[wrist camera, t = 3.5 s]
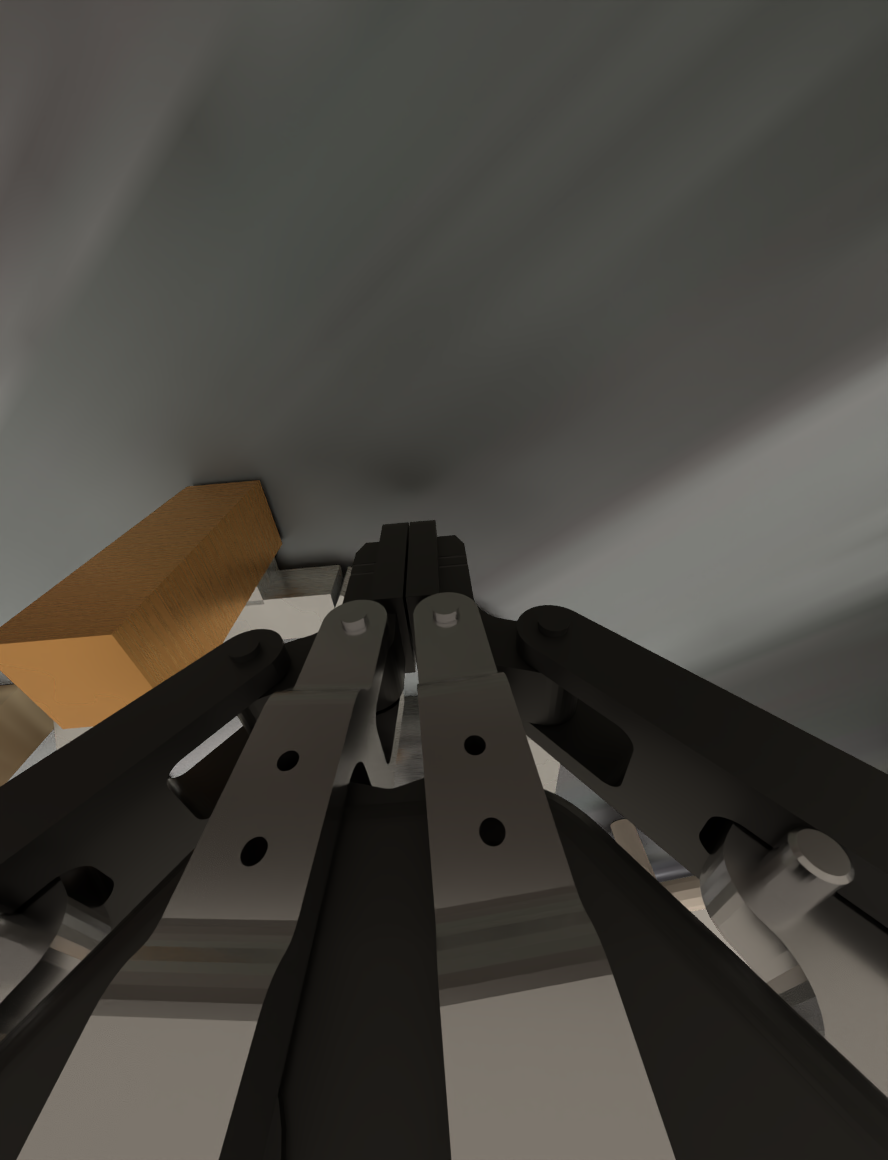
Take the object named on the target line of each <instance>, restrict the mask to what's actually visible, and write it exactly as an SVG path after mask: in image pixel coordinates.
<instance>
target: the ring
mask: <svg viewBox="0 0 888 1160" xmlns="http://www.w3.org/2000/svg"><path fill="white" fill-rule="evenodd" d="M281 545H282V541H281V539H280V536H279V533H278V530H277V528H276V525H275V522H274V519H273V516H272V514H271V511H270V508H269V505H268V503H267V500H266V497H265V494H264V491H263V489H262V486H261V483H260V480H255V481H244V482H233V483H222V484H211V485H199V486H188V487H186V488H184V489H183V490H182V491H180V492H179V493H178V494H176V495H175V496H174V497H172V498H171V499H170V500H168V501H167V502H166V503H165V504H163V505H162V506H161V507H159V508H158V509H157V510H155V511H154V512H153V513H151V514H150V515H149V516H147V517H146V518H145V519H143V520H142V521H141V522H139V523H138V524H137V525H135V526H134V527H133V528H131V529H130V530H129V531H127V532H126V533H125V534H123V535H122V536H121V537H119V538H118V539H117V540H115V541H114V542H113V543H111V544H110V545H109V546H107V547H106V548H105V549H103V550H102V551H101V552H99V553H98V554H97V555H95V556H94V557H93V558H91V559H90V560H89V561H87V562H86V563H85V564H84V565H82V566H81V567H80V568H78V569H77V570H76V571H74V572H73V573H72V574H70V575H69V576H68V577H66V578H65V579H64V580H62V581H61V582H60V583H58V584H57V585H56V586H54V587H53V588H52V589H50V590H49V591H48V592H46V593H45V594H44V595H42V596H41V597H40V598H38V599H37V600H36V601H34V602H33V603H32V604H30V605H29V606H28V607H26V608H25V609H24V610H22V611H21V612H20V613H18V614H17V615H16V616H14V617H13V618H12V619H10V620H9V621H8V622H7V623H5V624H4V625H3V626H1V627H0V671H1V672H2V673H3V674H5V675H6V676H7V677H8V678H9V679H10V680H11V681H12V682H13V683H14V684H15V685H16V686H17V687H18V688H19V689H21V690H22V691H23V692H24V693H25V694H26V695H27V696H28V697H29V698H30V699H31V700H32V701H33V702H34V703H35V704H37V705H38V706H39V707H40V708H41V709H42V710H43V711H44V712H45V713H46V714H47V715H48V716H49V717H50V718H51V719H52V720H53V723H54V731H55V740H56V748H57V750H58V749H59V748H61V747H63V746H64V745H66V744H67V743H69V742H70V741H72V740H73V739H75V738H77V737H78V736H80V735H81V734H83V733H84V732H86V731H87V730H89V729H91V728H92V727H94V726H95V725H97V724H98V723H100V722H101V721H103V720H104V719H106V718H108V717H109V716H111V715H112V714H114V713H115V712H117V711H118V710H120V709H122V708H123V707H125V706H126V705H128V704H129V703H131V702H132V701H134V700H136V699H137V698H139V697H140V696H142V695H143V694H145V693H146V692H148V691H149V690H151V689H153V688H154V687H156V686H157V685H159V684H160V683H162V682H163V681H165V680H167V679H168V678H170V677H171V676H173V675H174V674H176V673H177V672H179V671H181V670H182V669H184V668H185V667H187V666H188V665H190V664H191V663H193V662H194V661H196V660H198V659H199V658H201V657H202V656H204V655H205V654H207V653H208V652H210V651H212V650H213V649H215V648H216V647H218V646H219V645H221V644H222V643H224V642H226V641H227V640H229V639H230V638H232V637H234V636H236V635H238V634H241V633H243V632H246V631H250V630H255V629H269V630H273V631H275V632H277V633H278V634H280V636H281V637H282V639H292V638H304V637H307V636H310V635H313V634H315V633H317V632H318V631H319V629H320V626H321V624H322V622H323V620H324V618H325V617H326V615H327V614H328V613H329V612H330V611H331V610H333V609H334V608H336V607H337V606H339V605H341V604H342V603H343V600H344V596H345V592H346V589H347V585H348V581H349V578H350V576H351V570H352V567H350V566H348V569H347V571H346V574H345V576H344V578H343V575H342V571H341V567H340V565H333V566H322V567H310V568H299V569H287V570H279V568H278V565H277V563H276V560H275V555H276V553H277V552H278V550H279V548H280V547H281ZM526 737H527V740H528V743H529V746H530V749H531V752H532V755H533V758H534V761H535V764H536V767H537V770H538V773H539V776H540V780H541V783H542V786H543V789H545V790H548V791H550V792H552V793H554V794H555V790H556V784H557V778H558V773H559V767H560V763H559V762H558V761H557V760H555V759H554V758H553V757H552V756H551V755H549V754H548V753H547V752H546V751H545V750H543V749H542V748H541V747H540V746H539V745H537V744H536V743H535V742H534V741H533V740H531V739H530V738H529V737H528V736H527V735H526Z"/></svg>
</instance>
